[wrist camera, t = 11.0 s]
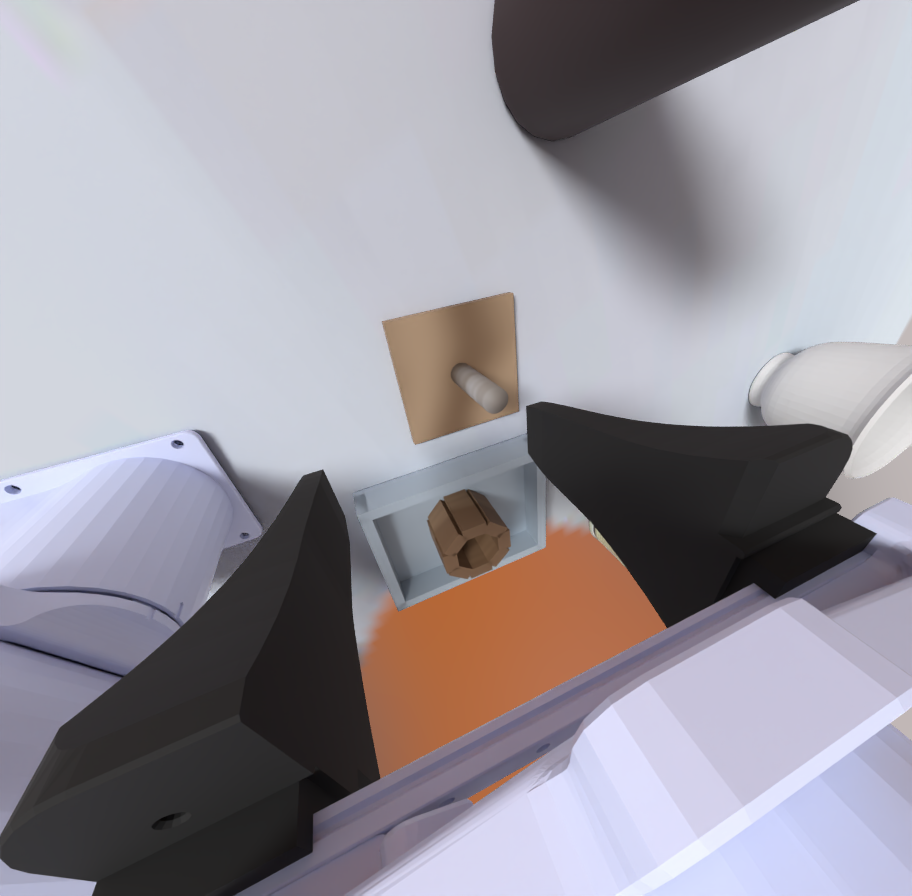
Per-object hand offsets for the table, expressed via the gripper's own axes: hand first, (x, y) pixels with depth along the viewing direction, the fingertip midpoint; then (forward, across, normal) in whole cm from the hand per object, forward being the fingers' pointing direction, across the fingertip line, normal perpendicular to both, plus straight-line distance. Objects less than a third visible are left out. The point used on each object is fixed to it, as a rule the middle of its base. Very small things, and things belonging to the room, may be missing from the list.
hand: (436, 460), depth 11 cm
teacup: (+11, -40, +12) cm, 43 cm away
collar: (+10, -2, +13) cm, 17 cm away
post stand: (+10, -4, +1) cm, 11 cm away
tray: (+10, -2, +13) cm, 17 cm away
